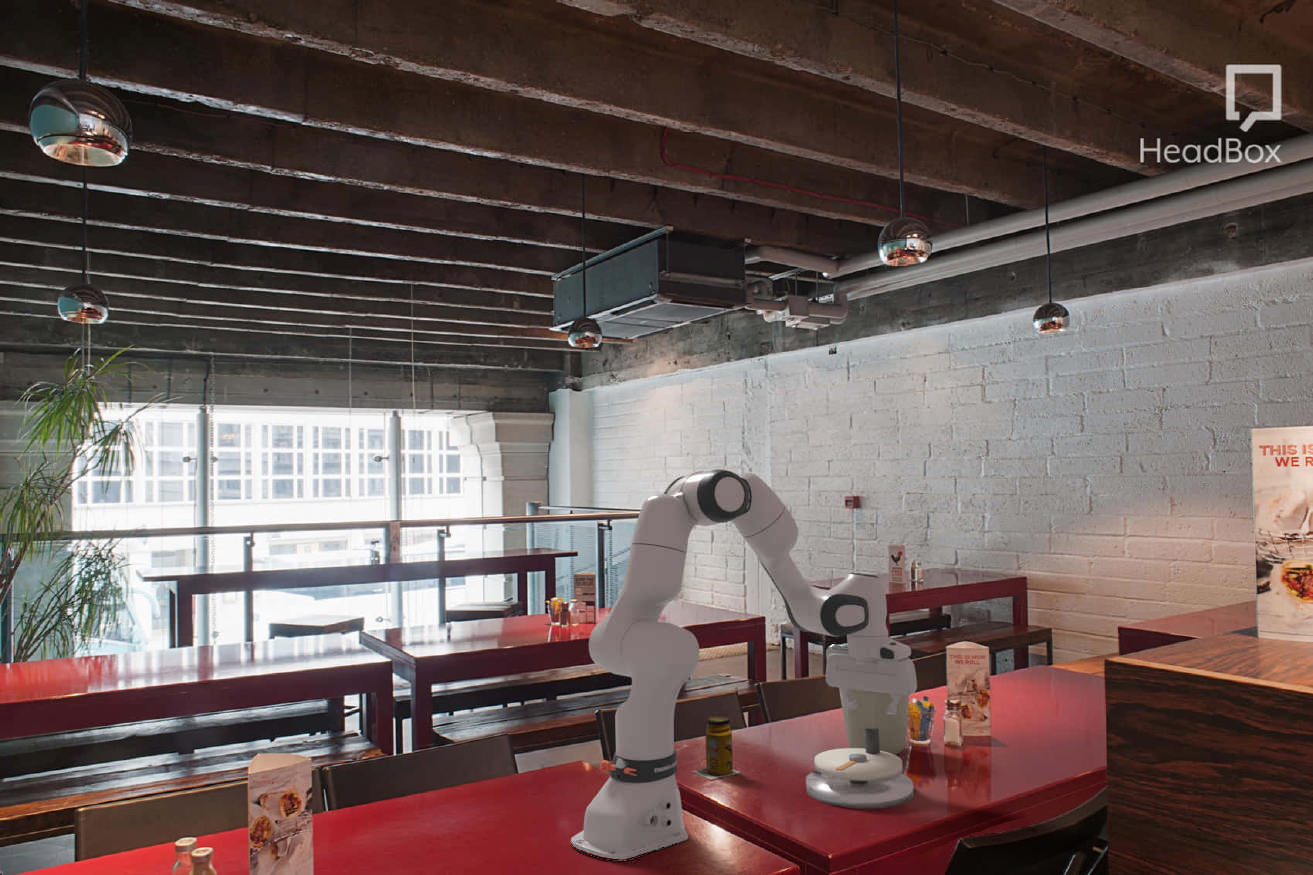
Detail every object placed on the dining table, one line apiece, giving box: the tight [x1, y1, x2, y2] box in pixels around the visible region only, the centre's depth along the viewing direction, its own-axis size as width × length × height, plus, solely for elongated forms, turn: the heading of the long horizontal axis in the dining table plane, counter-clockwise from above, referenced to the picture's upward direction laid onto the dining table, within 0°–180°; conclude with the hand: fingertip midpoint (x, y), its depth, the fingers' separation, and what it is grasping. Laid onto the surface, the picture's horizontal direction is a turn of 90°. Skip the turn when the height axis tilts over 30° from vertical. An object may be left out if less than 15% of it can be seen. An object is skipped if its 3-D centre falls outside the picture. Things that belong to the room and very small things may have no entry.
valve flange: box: [805, 769, 915, 810], centre depth 184 cm, size 22×22×4 cm
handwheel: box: [814, 727, 903, 781], centre depth 185 cm, size 18×18×6 cm
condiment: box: [691, 715, 741, 780], centre depth 200 cm, size 7×8×12 cm
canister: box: [838, 687, 910, 756], centre depth 214 cm, size 18×18×21 cm
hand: (871, 711), depth 191 cm, fingers open, 8 cm apart
